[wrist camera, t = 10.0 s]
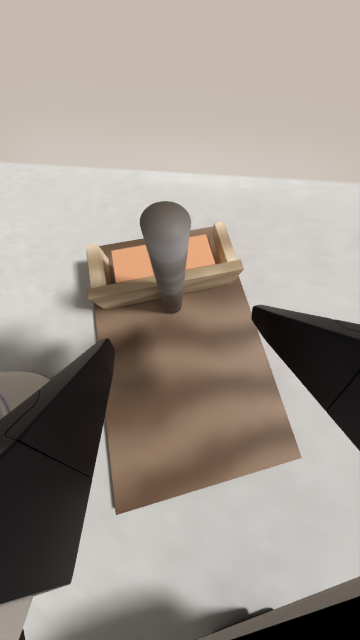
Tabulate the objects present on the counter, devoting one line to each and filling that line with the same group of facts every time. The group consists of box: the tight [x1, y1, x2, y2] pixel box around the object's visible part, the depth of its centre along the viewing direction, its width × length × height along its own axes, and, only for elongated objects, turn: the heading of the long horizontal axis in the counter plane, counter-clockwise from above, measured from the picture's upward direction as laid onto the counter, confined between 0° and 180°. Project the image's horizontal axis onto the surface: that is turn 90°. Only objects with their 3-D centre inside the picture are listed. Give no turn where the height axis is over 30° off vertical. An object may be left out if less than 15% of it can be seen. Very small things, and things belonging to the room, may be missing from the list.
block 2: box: [186, 234, 215, 270], centre depth 18 cm, size 4×4×4 cm
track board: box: [94, 227, 302, 515], centre depth 18 cm, size 31×20×1 cm, turn 13°
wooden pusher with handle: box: [86, 201, 244, 314], centre depth 13 cm, size 10×18×12 cm, turn 103°
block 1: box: [111, 245, 155, 283], centre depth 17 cm, size 4×4×4 cm
